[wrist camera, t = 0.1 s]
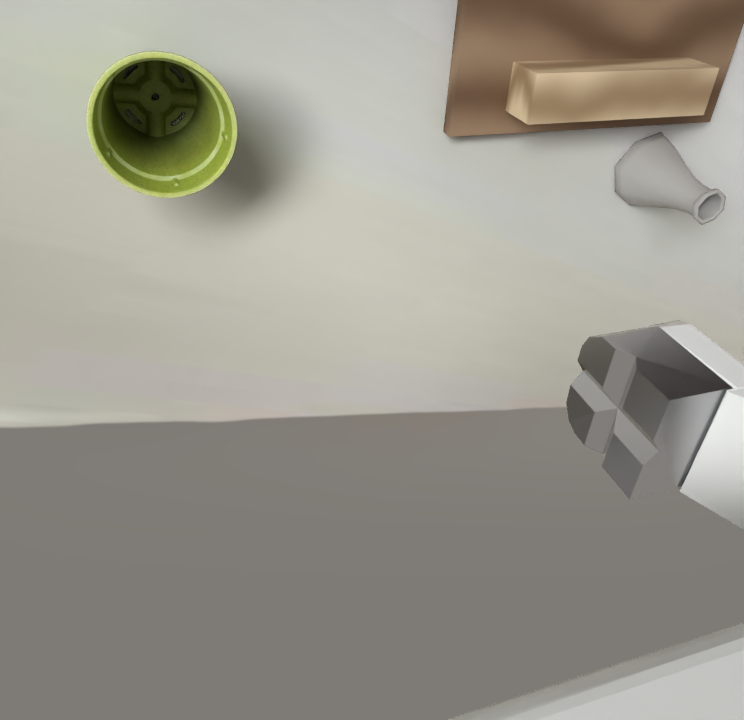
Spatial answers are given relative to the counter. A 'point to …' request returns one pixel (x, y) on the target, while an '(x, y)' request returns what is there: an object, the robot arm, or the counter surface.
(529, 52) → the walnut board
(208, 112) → the plant pot
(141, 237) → the counter surface
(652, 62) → the bar
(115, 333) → the counter surface
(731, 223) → the counter surface
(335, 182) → the counter surface
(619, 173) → the flask
